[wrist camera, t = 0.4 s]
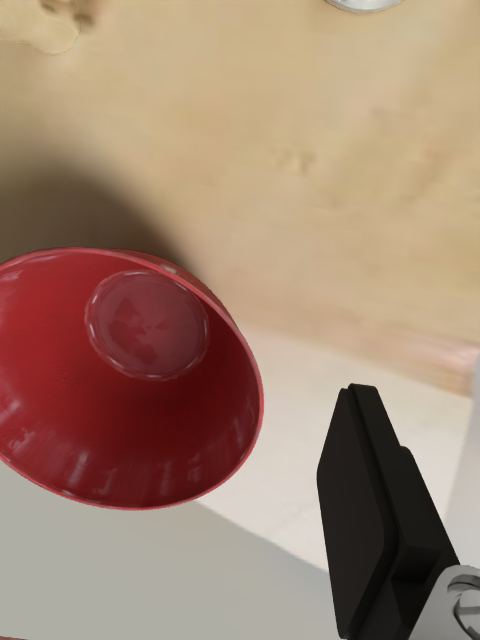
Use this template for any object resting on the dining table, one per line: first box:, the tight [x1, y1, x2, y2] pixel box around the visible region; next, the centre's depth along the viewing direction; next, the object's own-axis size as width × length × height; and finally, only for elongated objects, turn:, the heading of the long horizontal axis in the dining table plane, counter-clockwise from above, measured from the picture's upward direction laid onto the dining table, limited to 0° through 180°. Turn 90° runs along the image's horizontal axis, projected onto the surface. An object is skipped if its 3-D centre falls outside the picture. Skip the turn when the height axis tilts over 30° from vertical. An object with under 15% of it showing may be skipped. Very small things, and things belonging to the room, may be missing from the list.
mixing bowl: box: [0, 247, 264, 510], centre depth 42 cm, size 28×28×16 cm
